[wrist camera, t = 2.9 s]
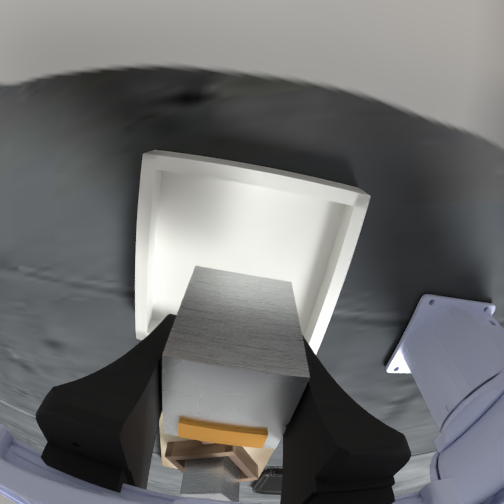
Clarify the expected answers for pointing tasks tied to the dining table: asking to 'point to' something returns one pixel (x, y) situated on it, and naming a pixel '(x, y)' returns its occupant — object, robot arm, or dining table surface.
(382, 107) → the dining table surface
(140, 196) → the white square tray
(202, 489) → the seated billet
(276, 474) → the phone
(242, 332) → the loose billet
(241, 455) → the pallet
